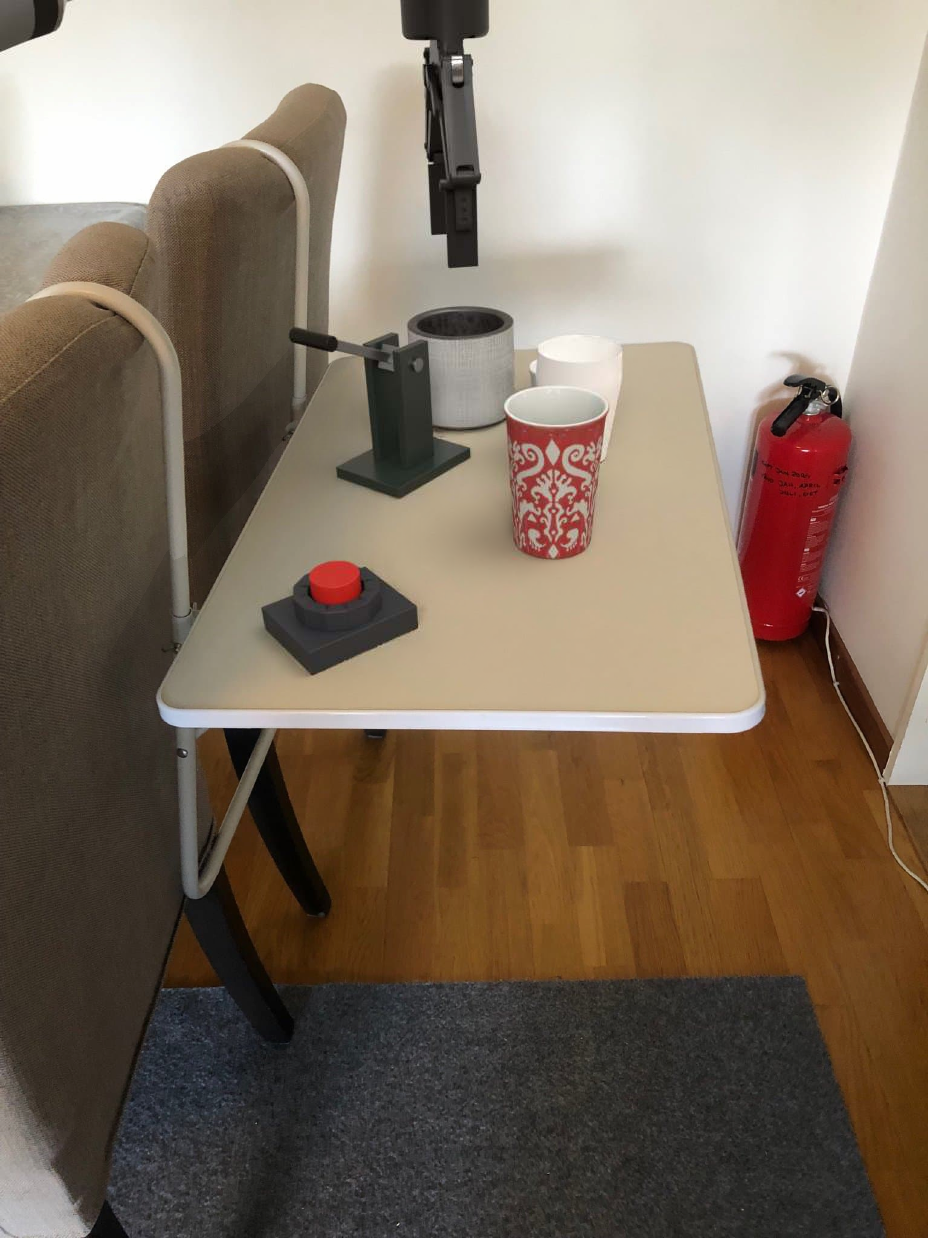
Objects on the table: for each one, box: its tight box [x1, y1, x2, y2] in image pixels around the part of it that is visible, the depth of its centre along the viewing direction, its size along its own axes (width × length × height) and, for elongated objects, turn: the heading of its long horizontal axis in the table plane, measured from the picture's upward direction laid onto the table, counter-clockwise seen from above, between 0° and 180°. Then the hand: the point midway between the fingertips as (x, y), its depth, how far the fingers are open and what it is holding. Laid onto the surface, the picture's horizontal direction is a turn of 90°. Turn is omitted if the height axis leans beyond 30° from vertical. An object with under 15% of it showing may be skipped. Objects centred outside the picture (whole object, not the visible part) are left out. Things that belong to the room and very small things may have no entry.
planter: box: [406, 305, 516, 431], centre depth 109 cm, size 13×13×11 cm
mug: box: [503, 386, 610, 560], centre depth 84 cm, size 13×9×14 cm
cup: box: [536, 334, 623, 463], centre depth 98 cm, size 9×9×12 cm
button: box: [309, 560, 362, 605], centre depth 73 cm, size 4×4×2 cm
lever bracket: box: [335, 331, 472, 499], centre depth 96 cm, size 12×9×14 cm
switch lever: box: [288, 326, 400, 372], centre depth 89 cm, size 14×5×2 cm, turn 142°
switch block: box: [261, 566, 419, 676], centre depth 75 cm, size 10×8×4 cm
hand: (453, 249), depth 89 cm, fingers open, 13 cm apart
